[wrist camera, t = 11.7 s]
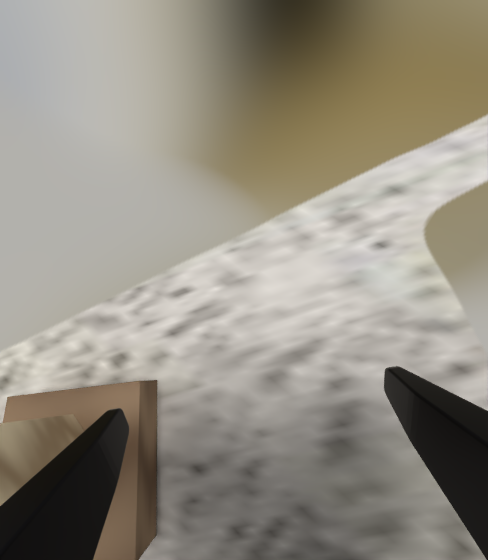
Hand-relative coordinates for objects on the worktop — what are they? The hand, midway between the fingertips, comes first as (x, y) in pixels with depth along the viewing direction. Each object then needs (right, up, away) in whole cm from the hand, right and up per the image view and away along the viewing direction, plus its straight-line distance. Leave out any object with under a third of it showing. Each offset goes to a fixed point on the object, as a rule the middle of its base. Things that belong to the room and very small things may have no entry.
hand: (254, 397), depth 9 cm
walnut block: (-12, -10, +12) cm, 19 cm away
